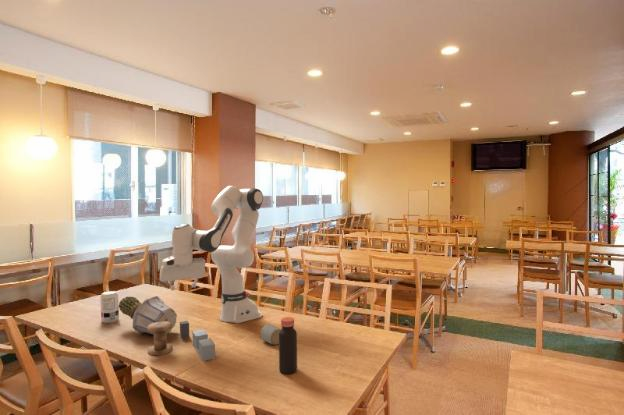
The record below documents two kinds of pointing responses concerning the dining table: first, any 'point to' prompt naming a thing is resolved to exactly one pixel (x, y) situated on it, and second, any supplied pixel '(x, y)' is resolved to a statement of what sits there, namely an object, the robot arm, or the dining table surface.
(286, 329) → the bottle
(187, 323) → the dark gray rectangular block
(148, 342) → the dining table surface
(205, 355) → the gray stepped block
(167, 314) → the potted plant
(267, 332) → the ceramic mug
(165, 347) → the wooden door knob
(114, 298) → the supplement can
